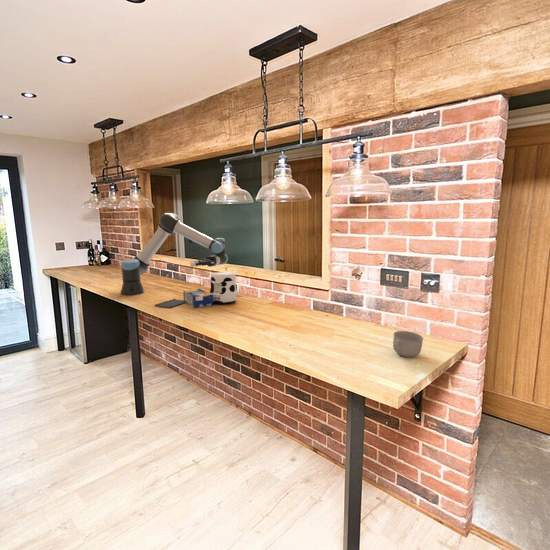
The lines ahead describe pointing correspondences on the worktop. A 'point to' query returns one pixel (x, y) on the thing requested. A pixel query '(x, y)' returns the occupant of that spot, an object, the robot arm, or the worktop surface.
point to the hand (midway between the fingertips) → (191, 264)
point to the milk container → (223, 287)
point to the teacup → (407, 343)
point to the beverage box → (198, 298)
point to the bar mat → (171, 303)
